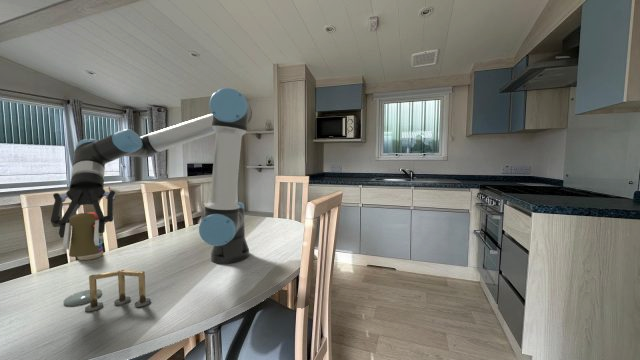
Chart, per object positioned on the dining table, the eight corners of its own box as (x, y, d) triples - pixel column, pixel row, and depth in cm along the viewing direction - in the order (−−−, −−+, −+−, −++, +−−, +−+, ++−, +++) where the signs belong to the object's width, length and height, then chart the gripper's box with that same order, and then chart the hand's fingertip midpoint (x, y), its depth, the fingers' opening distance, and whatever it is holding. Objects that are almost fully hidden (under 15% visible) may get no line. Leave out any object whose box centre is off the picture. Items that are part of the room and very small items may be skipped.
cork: (103, 251, 70) (101, 212, 69) (75, 258, 64) (73, 217, 63) (92, 247, 72) (90, 210, 71) (64, 254, 67) (61, 214, 66)
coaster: (104, 288, 76) (104, 286, 76) (98, 300, 70) (98, 298, 70) (69, 295, 72) (69, 293, 72) (58, 309, 66) (58, 307, 66)
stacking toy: (87, 261, 97) (85, 214, 96) (72, 259, 99) (69, 213, 97) (108, 254, 105) (106, 211, 104) (93, 253, 106) (91, 210, 105)
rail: (152, 292, 74) (151, 263, 74) (150, 305, 68) (148, 273, 67) (87, 306, 67) (85, 274, 66) (78, 322, 60) (75, 286, 60)
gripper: (125, 185, 85) (125, 245, 73) (48, 188, 74) (34, 259, 62) (124, 170, 80) (124, 232, 68) (42, 171, 69) (25, 244, 57)
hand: (81, 244), depth 65 cm, fingers closed on cork, 5 cm apart
